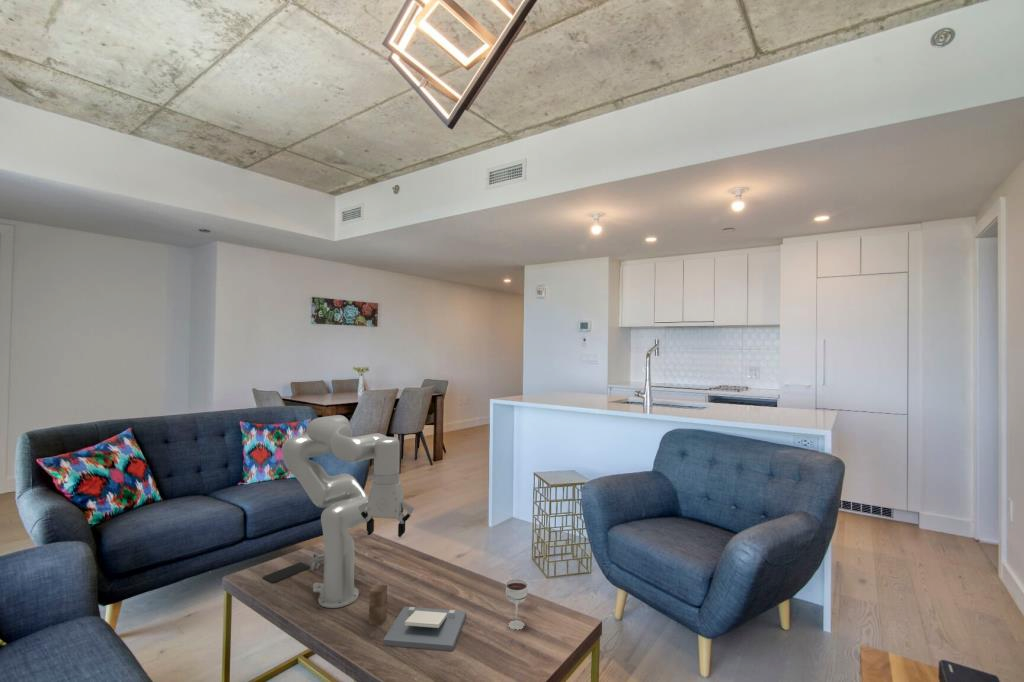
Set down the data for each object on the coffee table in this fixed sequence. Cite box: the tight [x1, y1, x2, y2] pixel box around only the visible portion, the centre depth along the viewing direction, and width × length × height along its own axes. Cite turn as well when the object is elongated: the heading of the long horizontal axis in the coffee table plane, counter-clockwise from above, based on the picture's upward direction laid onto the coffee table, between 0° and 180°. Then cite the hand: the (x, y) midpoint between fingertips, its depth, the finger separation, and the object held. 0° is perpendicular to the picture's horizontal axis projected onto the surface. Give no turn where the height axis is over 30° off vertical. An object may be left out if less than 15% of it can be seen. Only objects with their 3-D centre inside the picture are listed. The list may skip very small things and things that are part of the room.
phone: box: [262, 561, 311, 584], centre depth 174 cm, size 7×1×15 cm
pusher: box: [368, 584, 388, 626], centre depth 144 cm, size 4×4×10 cm
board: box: [382, 606, 467, 652], centre depth 140 cm, size 20×17×3 cm
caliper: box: [310, 549, 356, 572], centre depth 184 cm, size 20×1×6 cm, turn 151°
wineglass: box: [504, 579, 529, 631], centre depth 143 cm, size 7×7×12 cm
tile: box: [405, 611, 447, 628], centre depth 140 cm, size 10×10×1 cm
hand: (385, 534), depth 145 cm, fingers open, 9 cm apart
